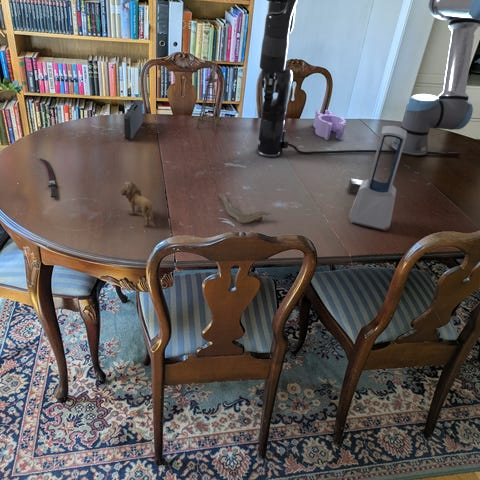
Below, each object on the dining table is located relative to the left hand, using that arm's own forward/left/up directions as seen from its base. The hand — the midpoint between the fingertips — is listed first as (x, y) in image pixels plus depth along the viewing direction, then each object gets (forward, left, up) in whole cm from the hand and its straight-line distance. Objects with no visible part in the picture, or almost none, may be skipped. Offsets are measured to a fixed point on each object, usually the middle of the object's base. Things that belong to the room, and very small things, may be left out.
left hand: (267, 107), depth 144 cm
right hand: (-79, +33, +1) cm, 86 cm away
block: (-30, +17, -28) cm, 44 cm away
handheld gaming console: (+18, -64, -28) cm, 72 cm away
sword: (+60, -34, -28) cm, 74 cm away
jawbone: (+13, +10, -28) cm, 32 cm away
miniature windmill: (-14, -58, -28) cm, 66 cm away
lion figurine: (+43, +1, -28) cm, 52 cm away
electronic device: (-18, +34, -28) cm, 48 cm away
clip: (-63, -34, -28) cm, 77 cm away
